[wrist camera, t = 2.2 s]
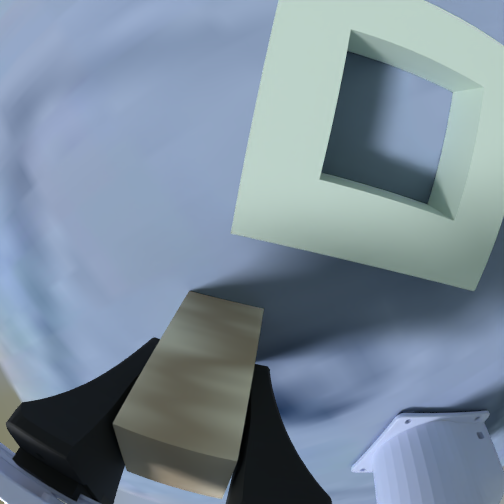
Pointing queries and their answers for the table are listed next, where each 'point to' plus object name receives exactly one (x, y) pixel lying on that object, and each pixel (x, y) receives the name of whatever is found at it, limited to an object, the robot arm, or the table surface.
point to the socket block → (357, 194)
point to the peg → (193, 397)
